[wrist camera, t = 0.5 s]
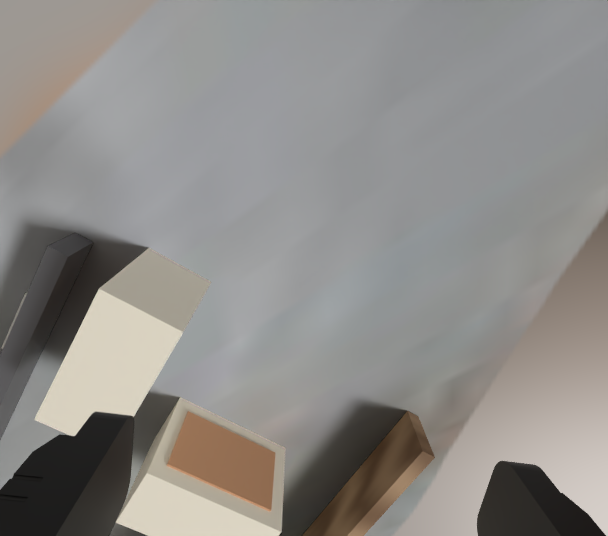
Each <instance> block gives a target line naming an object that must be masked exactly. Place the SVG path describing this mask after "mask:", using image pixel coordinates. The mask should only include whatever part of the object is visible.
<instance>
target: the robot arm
mask: <svg viewBox="0 0 608 536" xmlns="http://www.w3.org/2000/svg"><path fill="white" fill-rule="evenodd" d="M133 433H134V418H133V416H131V415H122V414H114V413H105V412H94V413H92V414H91V416H90V417H89V418H88V419H87V421H86V422H85V423H84V425H83V426H82V427H81V429H80V430H79V431H78V433H77V434H76V435H75V436H69V435H58V436H57V437H55V438H54V439H52V440H50V441H49V442H47V443H46V444H44V445H43V446H41V447H40V448H38V449H37V450H35V451H33V452H32V454H31V455H30V456H29V457H28V458H27V459H26V461H25V462H24V463H23V464H22V465H21V466H20V468H19V469H18V470H17V471H16V472H15V473H14V476H13V478H12V479H9V480H8V482H7V483H6V484H5V485H4V486H3V487H2V489H1V490H0V536H109V535H110V533H111V531H112V529H113V526H114V524H115V522H116V520H117V518H118V516H119V514H120V512H121V509H122V507H123V504H124V502H125V499H126V495H127V492H128V488H129V483H130V477H131V464H132V449H133ZM477 531H478V536H606V535H605V534H604V533H603V532H602V531H601V529H600V528H599V527H598V526H597V524H596V523H595V522H594V521H593V520H592V518H591V517H590V516H589V515H588V514H587V513H586V512H585V511H583V510H582V509H581V508H580V507H579V506H577V505H576V504H575V503H574V502H573V501H571V500H570V499H569V498H568V497H566V496H565V495H564V494H563V493H560V492H559V490H558V489H557V488H556V487H555V485H554V484H553V483H552V482H551V480H550V479H549V478H548V477H547V476H546V474H545V473H544V472H543V470H542V469H541V468H539V467H538V466H536V465H531V464H524V463H515V462H507V461H500V462H498V463H497V464H496V466H495V468H494V470H493V473H492V476H491V479H490V482H489V485H488V487H487V491H486V493H485V496H484V499H483V502H482V505H481V508H480V511H479V514H478V518H477Z"/></svg>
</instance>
